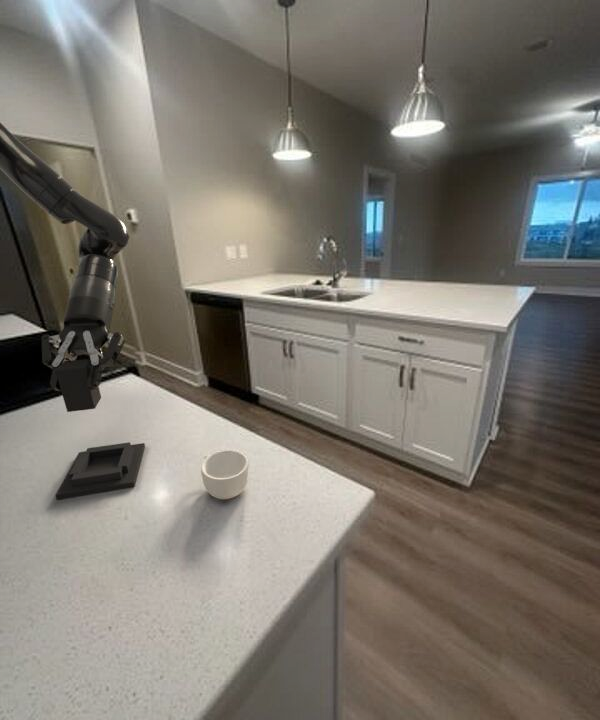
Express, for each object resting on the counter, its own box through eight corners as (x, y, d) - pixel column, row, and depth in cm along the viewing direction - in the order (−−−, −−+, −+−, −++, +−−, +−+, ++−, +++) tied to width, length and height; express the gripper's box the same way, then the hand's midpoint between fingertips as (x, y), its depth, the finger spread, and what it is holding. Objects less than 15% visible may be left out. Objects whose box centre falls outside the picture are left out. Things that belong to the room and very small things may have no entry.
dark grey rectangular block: (67, 412, 60) (54, 370, 57) (75, 400, 64) (64, 360, 61) (95, 408, 61) (84, 367, 58) (101, 397, 65) (91, 358, 62)
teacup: (259, 488, 59) (257, 462, 57) (222, 514, 54) (219, 487, 52) (224, 463, 65) (221, 439, 64) (188, 484, 60) (184, 459, 58)
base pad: (56, 500, 57) (52, 488, 56) (80, 456, 68) (77, 445, 67) (134, 486, 60) (132, 475, 59) (145, 446, 71) (143, 436, 70)
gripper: (39, 295, 62) (15, 383, 55) (121, 293, 63) (107, 379, 57) (63, 316, 69) (44, 397, 62) (137, 314, 70) (126, 393, 63)
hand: (74, 388), depth 59 cm, fingers closed on dark grey rectangular block, 5 cm apart
